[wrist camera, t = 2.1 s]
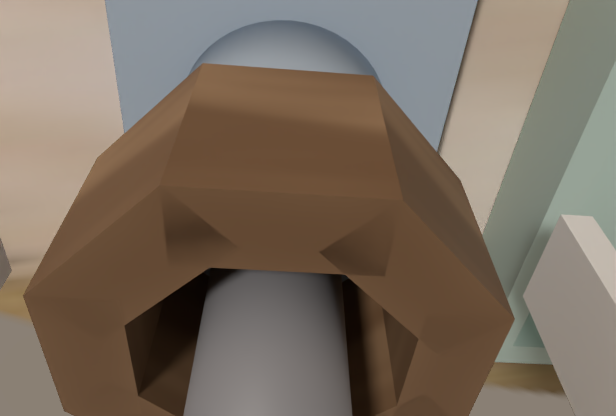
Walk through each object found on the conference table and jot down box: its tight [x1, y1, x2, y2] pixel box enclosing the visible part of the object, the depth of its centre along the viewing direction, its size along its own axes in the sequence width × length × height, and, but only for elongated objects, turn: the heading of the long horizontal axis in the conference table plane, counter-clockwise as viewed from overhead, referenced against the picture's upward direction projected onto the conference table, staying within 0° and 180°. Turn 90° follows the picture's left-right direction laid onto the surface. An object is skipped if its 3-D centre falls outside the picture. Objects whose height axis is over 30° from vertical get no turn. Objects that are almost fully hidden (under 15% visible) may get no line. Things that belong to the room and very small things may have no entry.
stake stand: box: [105, 0, 478, 416], centre depth 13 cm, size 10×10×13 cm
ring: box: [23, 63, 515, 416], centre depth 11 cm, size 8×8×4 cm
